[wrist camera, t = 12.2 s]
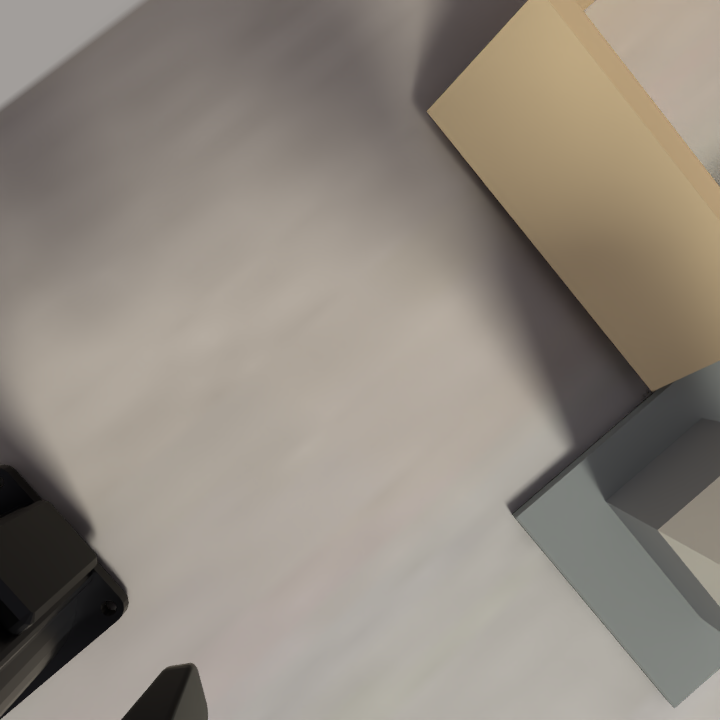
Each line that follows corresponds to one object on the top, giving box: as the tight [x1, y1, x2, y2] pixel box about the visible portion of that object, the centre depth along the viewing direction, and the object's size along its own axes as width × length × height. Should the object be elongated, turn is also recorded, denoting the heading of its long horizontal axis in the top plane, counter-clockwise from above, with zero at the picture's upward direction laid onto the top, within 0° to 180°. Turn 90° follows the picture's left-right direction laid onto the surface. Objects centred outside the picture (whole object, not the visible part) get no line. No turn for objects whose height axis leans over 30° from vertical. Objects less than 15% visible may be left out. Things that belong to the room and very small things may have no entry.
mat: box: [512, 361, 720, 708], centre depth 19 cm, size 10×9×1 cm
